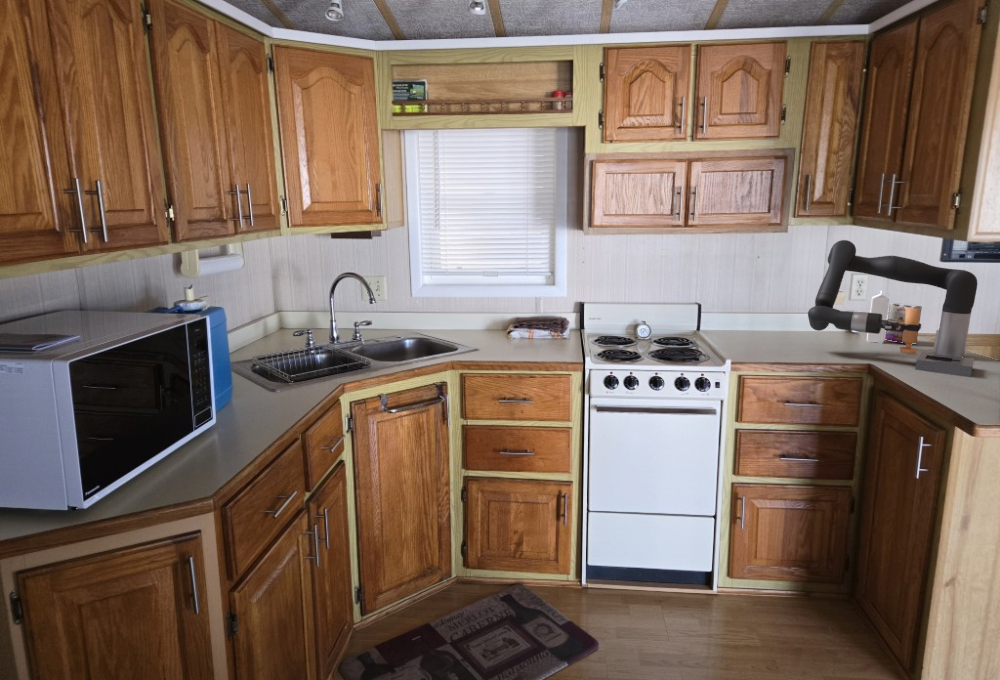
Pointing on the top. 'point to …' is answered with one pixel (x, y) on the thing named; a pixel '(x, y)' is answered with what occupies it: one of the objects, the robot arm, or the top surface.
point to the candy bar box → (898, 313)
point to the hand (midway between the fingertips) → (919, 327)
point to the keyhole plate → (944, 364)
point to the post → (910, 336)
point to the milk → (881, 307)
